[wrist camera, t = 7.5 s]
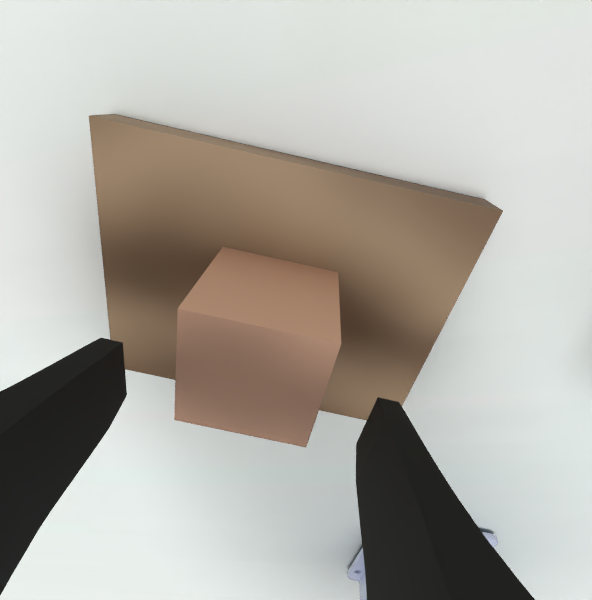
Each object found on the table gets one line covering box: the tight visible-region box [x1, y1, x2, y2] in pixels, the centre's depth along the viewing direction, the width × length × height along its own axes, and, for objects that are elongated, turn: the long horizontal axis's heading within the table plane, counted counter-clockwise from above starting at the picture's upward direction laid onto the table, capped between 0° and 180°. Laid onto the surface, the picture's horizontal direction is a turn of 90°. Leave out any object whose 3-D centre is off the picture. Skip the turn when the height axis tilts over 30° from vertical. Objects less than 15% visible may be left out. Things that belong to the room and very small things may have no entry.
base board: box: [89, 114, 503, 420], centre depth 15 cm, size 11×14×2 cm
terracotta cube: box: [174, 247, 341, 447], centre depth 12 cm, size 4×4×4 cm
